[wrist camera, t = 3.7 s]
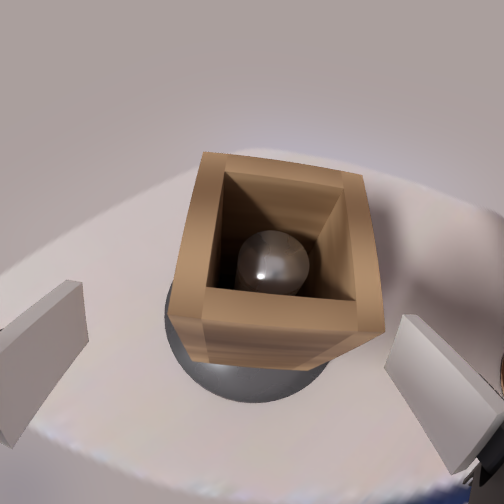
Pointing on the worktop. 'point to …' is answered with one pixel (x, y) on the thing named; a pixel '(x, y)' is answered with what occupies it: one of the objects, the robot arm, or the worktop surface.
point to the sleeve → (271, 305)
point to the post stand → (260, 281)
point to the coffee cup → (502, 376)
